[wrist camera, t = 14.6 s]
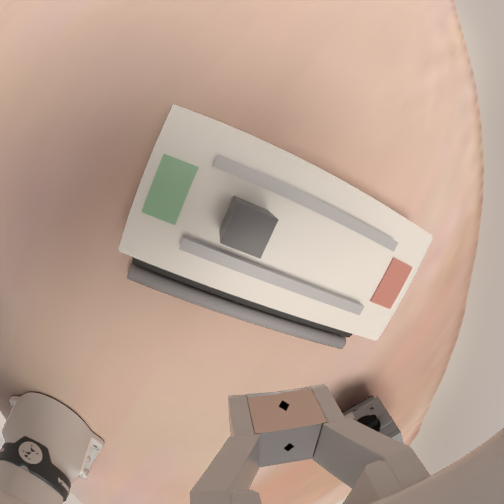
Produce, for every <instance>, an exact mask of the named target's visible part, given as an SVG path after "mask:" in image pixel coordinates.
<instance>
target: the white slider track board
mask: <svg viewBox="0 0 504 504" xmlns="http://www.w3.org/2000/svg"><path fill="white" fill-rule="evenodd" d="M234 196H236V197H239V198H241V199H243V200H246V201H248V202H250V203H253V204H255V205H257V206H260V207H262V208H264V209H267V210H269V211H270V212H271V213H272V214H273V215H274V216H275V217H276V218H277V219H278V222H277V224H276V226H275V229H274V231H273V233H272V235H271V237H270V239H269V241H268V244H267V246H266V248H265V250H264V252H263V254H262V256H261V259H259V258H257V257H254V256H252V255H249V254H247V253H244V252H241V251H239V250H236V249H234V248H231V247H229V246H226V245H224V244H221V243H220V235H219V229H220V227H221V224H222V222H223V220H224V217H225V215H226V213H227V210H228V208H229V206H230V203H231V201H232V199H233V197H234ZM432 238H433V236H432V235H430V234H429V233H427V232H426V231H424V230H423V229H421V228H420V227H418V226H417V225H415V224H414V223H412V222H411V221H409V220H408V219H406V218H405V217H403V216H401V215H400V214H398V213H397V212H395V211H394V210H392V209H390V208H389V207H387V206H386V205H384V204H382V203H381V202H379V201H377V200H376V199H374V198H372V197H371V196H369V195H367V194H366V193H364V192H362V191H360V190H359V189H357V188H355V187H353V186H352V185H350V184H348V183H346V182H345V181H343V180H341V179H339V178H337V177H335V176H334V175H332V174H330V173H328V172H326V171H324V170H322V169H320V168H319V167H317V166H315V165H313V164H311V163H309V162H307V161H305V160H303V159H301V158H299V157H297V156H295V155H293V154H291V153H289V152H287V151H285V150H283V149H281V148H278V147H276V146H274V145H272V144H270V143H268V142H266V141H263V140H261V139H259V138H257V137H255V136H252V135H250V134H248V133H246V132H243V131H241V130H239V129H236V128H234V127H231V126H229V125H227V124H224V123H222V122H219V121H217V120H214V119H212V118H209V117H207V116H204V115H202V114H199V113H196V112H194V111H191V110H188V109H186V108H183V107H180V106H177V105H175V104H173V106H172V108H171V110H170V112H169V114H168V116H167V119H166V121H165V123H164V125H163V127H162V130H161V132H160V134H159V137H158V139H157V141H156V144H155V146H154V148H153V151H152V153H151V156H150V158H149V161H148V163H147V166H146V168H145V171H144V173H143V176H142V179H141V181H140V184H139V187H138V190H137V192H136V195H135V198H134V201H133V204H132V207H131V210H130V213H129V216H128V219H127V222H126V225H125V228H124V231H123V235H122V238H121V241H120V245H119V248H118V251H119V252H121V253H124V254H126V255H129V256H131V257H134V258H136V259H139V260H141V261H144V262H146V263H149V264H151V265H154V266H156V267H159V268H161V269H164V270H167V271H169V272H172V273H174V274H177V275H180V276H182V277H185V278H188V279H190V280H193V281H196V282H198V283H201V284H204V285H207V286H209V287H212V288H215V289H218V290H220V291H223V292H226V293H229V294H232V295H234V296H237V297H240V298H243V299H246V300H249V301H252V302H255V303H258V304H260V305H263V306H266V307H269V308H272V309H275V310H278V311H281V312H284V313H287V314H290V315H294V316H297V317H300V318H303V319H306V320H309V321H312V322H315V323H319V324H322V325H325V326H328V327H332V328H335V329H338V330H341V331H345V332H348V333H351V334H355V335H358V336H362V337H365V338H369V339H372V340H376V341H377V340H378V338H379V337H380V335H381V333H382V332H383V330H384V329H385V327H386V325H387V324H388V322H389V320H390V319H391V317H392V315H393V314H394V312H395V310H396V308H397V307H398V305H399V303H400V301H401V300H402V298H403V296H404V294H405V293H406V291H407V289H408V287H409V285H410V283H411V281H412V279H413V278H414V276H415V274H416V272H417V270H418V268H419V266H420V264H421V262H422V260H423V258H424V256H425V253H426V251H427V249H428V247H429V245H430V243H431V241H432Z"/></svg>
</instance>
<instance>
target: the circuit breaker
mask: <svg viewBox="0 0 504 504" xmlns="http://www.w3.org/2000/svg"><path fill="white" fill-rule="evenodd" d="M342 414H343V415H344V417H345V418H351V419H353V420H355V421H357V422H359V423H361V424H363V425H365V426H367V427H369V428H371V429H373V430H375V431H377V432H379V433H381V434H383V435H386V436H388V437H390V438H392V439H394V440H396V441H398V442H401V443H403V439H402V435H401V432H400V430H399V429H398V427H397V426H396V424H395V423H394V421H393V419H392V417H391V416H390V415H389V413H388V412H387V410H386V409H385V407H384V406H383V404H382V403H381V401H380V399H379V398H378V397H376V398H374V397H373V396H371V397H370V398H368V399H366V400H364V401H363V402H361V403H359V404H357V405H356V406H354V407H352V408H350V409H348V410H347V411H345V412H343V413H342ZM403 444H404V443H403Z"/></svg>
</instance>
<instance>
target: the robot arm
mask: <svg viewBox="0 0 504 504" xmlns="http://www.w3.org/2000/svg"><path fill="white" fill-rule="evenodd" d="M9 402H10V405H11V407H12V410H11V412H10V414H9V416H8V418H7V421H6V423H5V425H4V427H3V430H2V434H3V437H4V439H5V442H6V443H4V445H3V447H2V449H1V450H0V504H63V502H64V501H66V499H67V497H68V495H69V492H70V487H71V484H72V483H73V482H74V481H75V480H76V479H77V478H78V477H81V478H83V479H87V476H88V473H89V470H88V469H89V468H90V466H91V465H92V463H93V461H94V460H95V458H96V457H97V455H98V454H99V452H100V451H101V449H102V448H103V446H104V441H103V440H102V439H101V438H100V437H98V436H97V435H96V434H94V433H93V432H92V431H91V430H90V429H89V428H88V426H87V425H86V424H85V423H84V421H83V420H82V419H81V418H80V417H79V416H78V415H76V414H75V413H74V412H73V411H72V410H70V409H69V408H68V407H66V406H65V405H63V404H61V403H60V402H58V401H56V400H54V399H52V398H50V397H48V396H45V395H43V394H39V393H33V392H29V393H25V394H23V395H22V396H20V397H19V396H11V398H10V400H9ZM228 403H229V422H230V434H231V437H229V438H228V439H227V441H226V442H225V444H224V445H223V447H222V448H221V450H220V451H219V452H218V454H217V455H216V457H215V458H214V460H213V461H212V462H211V464H210V465H209V467H208V468H207V469H206V471H205V472H204V474H203V475H202V476H201V478H200V479H199V480H198V482H197V483H196V484H195V486H194V487H193V489H192V490H191V491H190V504H261V500H260V495H259V493H258V492H256V491H254V490H249V488H250V486H251V484H252V482H253V480H254V478H255V476H256V473H257V471H258V469H259V467H264V466H271V465H276V464H282V463H288V462H294V461H301V460H306V459H312V458H313V460H314V461H315V462H317V463H318V464H319V465H321V466H322V467H323V468H325V469H326V470H327V471H328V472H330V473H331V474H333V475H334V476H335V477H337V478H338V479H339V480H341V481H342V482H344V483H345V484H346V485H348V486H349V487H351V488H352V490H351V492H350V493H349V495H348V496H347V498H346V499H345V501H344V503H343V504H504V428H503V429H502V430H501V431H499V432H498V433H497V434H495V435H494V436H493V437H491V438H490V439H489V440H487V441H486V442H485V443H483V444H482V445H480V446H479V447H477V448H476V449H474V450H473V451H471V452H470V453H469V454H467V455H465V456H464V457H462V458H461V459H459V460H458V461H456V462H454V463H453V464H451V465H449V466H447V467H446V468H444V469H442V470H441V471H439V472H437V473H435V474H433V475H431V476H430V474H429V473H428V471H427V470H426V468H425V467H424V465H423V464H422V463H421V461H420V460H419V458H418V457H417V455H416V454H415V453H414V451H413V449H412V448H411V447H410V446H407V445H405V444H403V443H401V442H398V441H396V440H394V439H392V438H390V437H388V436H386V435H383V434H381V433H379V432H377V431H375V430H373V429H371V428H369V427H367V426H365V425H363V424H361V423H359V422H357V421H355V420H353V419H351V418H345V417H344V415H343V414H342V412H341V410H340V408H339V407H338V405H337V403H336V401H335V399H334V398H333V396H332V394H331V392H330V391H329V389H328V387H327V386H326V385H325V384H321V385H316V386H310V387H304V388H298V389H292V390H285V391H277V392H269V393H257V394H246V395H229V396H228Z"/></svg>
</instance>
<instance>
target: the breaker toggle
mask: <svg viewBox="0 0 504 504" xmlns="http://www.w3.org/2000/svg"><path fill="white" fill-rule="evenodd" d="M277 222H278V219H277V218H276V217H275V216H274V215H273V214H272V213H271V212H270V211H269V210H267V209H264V208H262V207H260V206H257V205H255V204H253V203H250V202H248V201H246V200H243V199H241V198H239V197H236V196H234V197H233V199H232V201H231V203H230V206H229V208H228V210H227V213H226V215H225V217H224V220H223V222H222V224H221V227H220V229H219V235H220V243H221V244H224V245H226V246H229V247H231V248H234V249H236V250H239V251H241V252H244V253H247V254H249V255H252V256H254V257H257V258H259V259H261V256H262V254H263V252H264V250H265V248H266V246H267V244H268V241H269V239H270V237H271V235H272V233H273V231H274V229H275V226H276V224H277Z"/></svg>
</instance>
